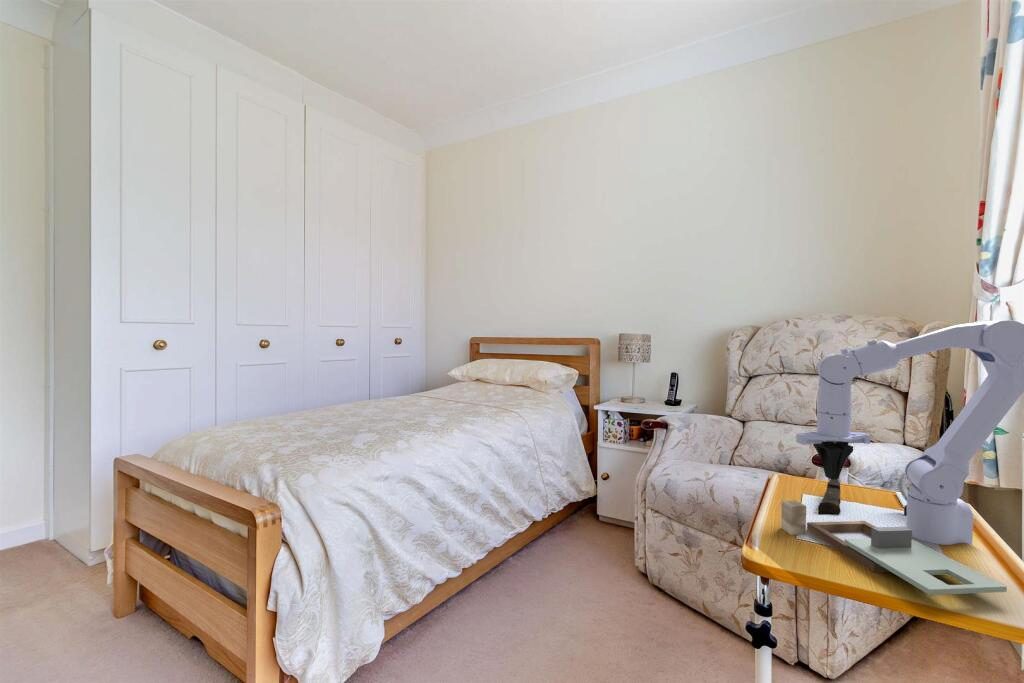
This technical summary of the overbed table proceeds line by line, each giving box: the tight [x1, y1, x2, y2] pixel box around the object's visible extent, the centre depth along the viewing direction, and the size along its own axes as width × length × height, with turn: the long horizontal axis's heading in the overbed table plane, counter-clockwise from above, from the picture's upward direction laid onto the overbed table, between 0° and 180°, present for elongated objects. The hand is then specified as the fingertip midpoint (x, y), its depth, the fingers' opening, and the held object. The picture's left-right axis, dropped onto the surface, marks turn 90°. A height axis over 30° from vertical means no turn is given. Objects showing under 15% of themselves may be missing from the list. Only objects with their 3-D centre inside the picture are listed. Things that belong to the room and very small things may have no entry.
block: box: [780, 499, 807, 536], centre depth 94 cm, size 3×3×7 cm
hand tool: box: [817, 479, 842, 516], centre depth 110 cm, size 19×4×5 cm, turn 140°
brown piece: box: [806, 520, 892, 573], centre depth 87 cm, size 12×16×3 cm
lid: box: [844, 526, 1008, 596], centre depth 77 cm, size 12×16×4 cm
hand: (831, 478), depth 99 cm, fingers closed
